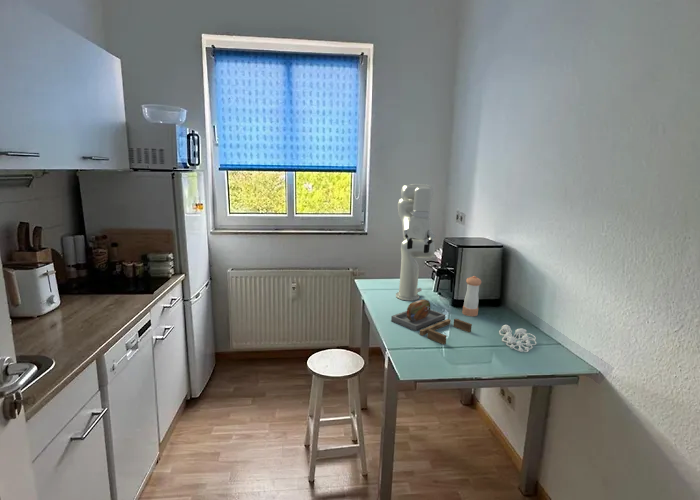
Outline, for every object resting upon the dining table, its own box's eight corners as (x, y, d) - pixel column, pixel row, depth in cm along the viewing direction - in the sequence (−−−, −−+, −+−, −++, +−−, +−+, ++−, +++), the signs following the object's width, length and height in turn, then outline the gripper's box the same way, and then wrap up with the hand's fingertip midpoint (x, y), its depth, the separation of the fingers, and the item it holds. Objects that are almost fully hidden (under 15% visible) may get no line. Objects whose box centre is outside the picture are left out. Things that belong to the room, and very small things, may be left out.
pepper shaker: (479, 316, 195) (484, 278, 191) (464, 316, 196) (468, 277, 191) (475, 311, 203) (479, 274, 198) (460, 310, 203) (464, 273, 199)
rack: (447, 323, 186) (448, 315, 185) (471, 331, 177) (471, 324, 177) (419, 334, 171) (420, 326, 171) (443, 344, 163) (444, 336, 162)
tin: (410, 323, 181) (411, 305, 179) (404, 321, 183) (406, 303, 181) (430, 316, 191) (431, 299, 189) (424, 314, 193) (426, 297, 191)
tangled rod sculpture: (538, 359, 158) (541, 349, 157) (499, 349, 162) (501, 340, 161) (532, 338, 176) (535, 329, 175) (498, 330, 180) (500, 321, 179)
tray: (420, 310, 199) (421, 306, 199) (444, 319, 190) (445, 314, 189) (391, 321, 184) (391, 316, 184) (415, 331, 175) (416, 325, 174)
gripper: (401, 212, 191) (398, 248, 195) (431, 217, 179) (428, 255, 183) (411, 211, 197) (408, 246, 200) (441, 216, 184) (437, 253, 188)
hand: (417, 250), depth 192 cm, fingers open, 9 cm apart
